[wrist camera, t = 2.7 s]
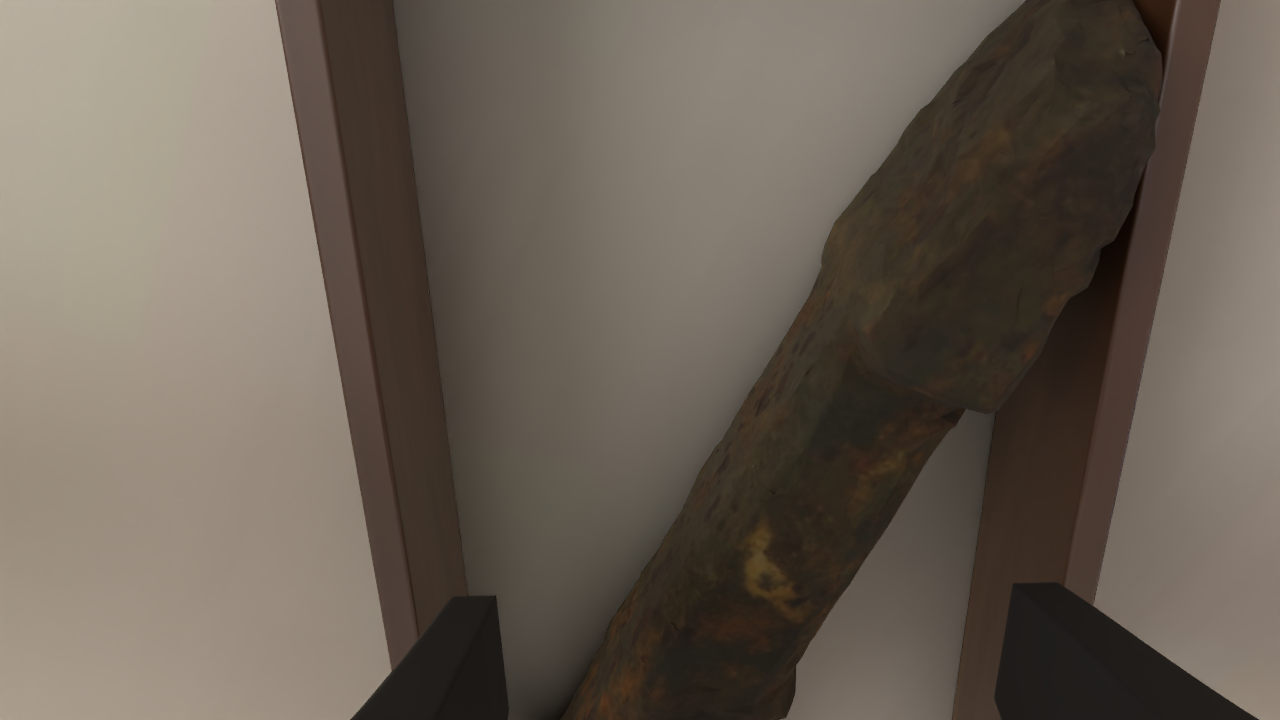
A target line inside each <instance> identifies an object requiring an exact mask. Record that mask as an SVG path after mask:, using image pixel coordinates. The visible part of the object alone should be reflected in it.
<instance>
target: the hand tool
mask: <svg viewBox="0 0 1280 720" xmlns="http://www.w3.org/2000/svg"><path fill="white" fill-rule="evenodd" d="M1161 87H1162V57H1161V52H1160V51H1159V50H1158V48H1157V47H1156V45H1155V43H1154V41H1153V39H1152V37H1151V35H1150V33H1149V31H1148V29H1147V27H1146V26H1145V25H1144V22H1143V20H1142V18H1141V15H1140V13H1139V11H1138V10H1137V9H1136V6H1135V4H1134V2H1133V0H1026V1H1025V3H1024V4H1022V5H1021V6H1020V7H1019V8H1018V9H1017V10H1016V11H1015V12H1014V13H1013V14H1012V15H1010V16H1009V17H1008V18H1007V19H1006V20H1005V21H1004V22H1003V23H1002V24H1001V25H1000V26H999V27H997V28H996V29H995V30H994V31H993V32H991V33H990V34H989V35H988V36H987V37H986V38H985V39H984V41H983V42H982V43H981V44H980V45H979V47H978V48H977V49H976V50H975V51H974V53H973V54H972V55H971V56H970V58H969V59H968V60H967V61H966V62H965V63H964V64H963V65H962V66H960V67H959V68H958V69H957V70H956V71H955V72H954V74H953V75H952V76H951V77H950V79H949V80H948V81H947V82H946V84H945V85H944V86H943V88H942V89H941V90H940V91H939V93H938V94H937V95H936V96H935V98H934V99H933V100H932V101H931V103H930V104H928V105H927V106H925V107H924V108H922V109H921V110H920V111H919V113H918V114H917V115H916V117H915V118H914V119H913V121H912V122H911V123H910V125H909V126H908V127H907V129H906V130H905V131H904V133H903V135H902V137H901V139H900V140H899V142H898V144H897V146H896V147H895V148H894V150H893V151H892V152H891V154H890V155H889V156H888V158H887V159H886V160H885V162H884V163H883V164H882V166H881V167H880V168H879V170H878V171H877V172H876V173H875V174H873V175H872V176H871V178H870V179H869V180H868V181H867V183H866V184H865V185H864V187H863V188H862V189H861V191H860V192H859V193H858V195H857V196H856V197H855V199H854V200H853V201H852V202H851V204H850V205H849V206H848V208H847V209H846V210H845V211H844V212H843V213H842V215H841V216H840V217H839V218H838V219H837V221H836V222H835V223H834V226H833V228H832V230H831V232H830V235H829V237H828V239H827V242H826V244H825V247H824V250H823V254H822V268H821V270H820V272H819V275H818V277H817V279H816V282H815V284H814V286H813V289H812V291H811V293H810V296H809V298H808V299H807V301H806V303H805V304H804V306H803V308H802V309H801V311H800V312H799V314H798V316H797V317H796V319H795V321H794V323H793V324H792V326H791V328H790V329H789V331H788V333H787V334H786V336H785V338H784V339H783V341H782V343H781V344H780V346H779V347H778V349H777V351H776V352H775V354H774V356H773V357H772V359H771V360H770V362H769V364H768V365H767V367H766V368H765V370H764V372H763V373H762V375H761V376H760V378H759V379H758V381H757V382H756V384H755V385H754V387H753V388H752V390H751V392H750V393H749V395H748V397H747V398H746V400H745V402H744V404H743V405H742V407H741V409H740V410H739V412H738V414H737V416H736V417H735V419H734V421H733V423H732V424H731V426H730V428H729V430H728V431H727V433H726V435H725V437H724V438H723V440H722V441H721V442H720V443H719V444H718V445H717V447H716V448H715V450H714V451H713V453H712V454H711V456H710V457H709V459H708V460H707V462H706V463H705V465H704V466H703V468H702V470H701V472H700V473H699V475H698V477H697V479H696V481H695V483H694V485H693V488H692V490H691V492H690V494H689V496H688V498H687V501H686V503H685V505H684V507H683V510H682V511H681V513H680V514H679V516H678V518H677V519H676V521H675V522H674V524H673V526H672V527H671V529H670V530H669V532H668V534H667V535H666V537H665V539H664V541H663V543H662V545H661V547H660V549H659V550H658V551H657V553H656V554H655V556H654V557H653V558H652V560H651V561H650V562H649V564H648V565H647V566H646V568H645V569H644V570H643V572H642V573H641V576H640V578H639V580H638V581H637V583H636V584H635V586H634V587H633V589H632V590H631V592H630V593H629V595H628V596H627V598H626V599H625V601H624V602H623V604H622V605H621V607H620V608H619V610H618V611H617V613H616V614H615V616H614V617H613V619H612V620H611V622H610V624H609V627H608V629H607V632H606V635H605V638H604V641H603V643H602V645H601V647H600V648H599V650H598V651H597V653H596V654H595V656H594V658H593V659H592V661H591V663H590V667H589V671H588V673H587V675H586V676H585V678H584V680H583V681H582V683H581V685H580V686H579V688H578V690H577V691H576V693H575V695H574V697H573V699H572V701H571V703H570V705H569V707H568V709H567V711H566V712H565V714H564V715H563V716H562V718H561V719H560V720H780V719H784V718H786V717H787V715H788V712H789V710H790V707H791V705H792V702H793V698H794V695H795V685H796V664H797V663H798V662H799V660H800V659H801V658H802V656H803V654H804V652H805V650H806V648H807V647H808V645H809V643H810V641H811V640H812V638H813V637H814V636H815V634H816V633H817V631H818V630H819V628H820V627H821V625H822V623H823V622H824V620H825V618H826V617H827V615H828V614H829V612H830V610H831V609H832V607H833V606H834V605H835V603H836V602H837V600H838V599H839V597H840V596H841V595H842V593H843V592H844V591H845V590H846V588H847V587H848V586H849V584H850V583H851V581H852V580H853V578H854V576H855V575H856V573H857V572H858V570H859V568H860V567H861V565H862V563H863V562H864V560H865V559H866V557H867V556H868V554H869V553H870V551H871V550H872V549H873V547H874V546H875V544H876V543H877V541H878V540H879V538H880V537H881V536H882V534H883V533H884V531H885V530H886V528H887V526H888V525H889V523H890V522H891V520H892V518H893V517H894V515H895V513H896V512H897V510H898V508H899V507H900V505H901V504H902V502H903V500H904V499H905V497H906V495H907V494H908V492H909V490H910V489H911V487H912V485H913V483H914V482H915V480H916V478H917V477H918V475H919V473H920V472H921V470H922V468H923V466H924V465H925V463H926V462H927V460H928V459H929V457H930V456H931V454H932V453H933V451H934V450H935V449H936V447H937V446H938V445H939V443H940V442H941V441H942V439H943V438H944V437H945V435H946V434H947V433H948V431H949V430H950V429H952V428H953V427H955V426H956V424H957V423H958V421H959V419H960V418H961V416H962V414H963V413H964V411H965V409H969V410H972V411H976V412H980V413H983V414H989V413H992V412H995V411H997V410H999V409H1000V408H1001V407H1002V405H1003V404H1004V403H1005V402H1006V400H1007V399H1008V398H1009V396H1010V395H1011V394H1012V392H1013V391H1014V390H1015V388H1016V387H1017V386H1018V384H1019V383H1020V381H1021V380H1022V378H1023V377H1024V375H1025V374H1026V373H1027V371H1028V370H1029V369H1030V367H1031V366H1032V365H1033V363H1034V362H1035V361H1036V360H1037V358H1038V357H1039V356H1040V354H1041V353H1042V351H1043V348H1044V346H1045V343H1046V341H1047V338H1048V336H1049V334H1050V331H1051V329H1052V326H1053V324H1054V323H1055V321H1056V319H1057V318H1058V316H1059V314H1060V313H1061V311H1062V309H1063V308H1064V306H1065V304H1066V302H1067V301H1068V300H1069V299H1070V298H1072V297H1073V296H1075V295H1076V294H1078V293H1080V292H1081V291H1083V290H1084V289H1086V288H1088V286H1089V284H1090V282H1091V280H1092V277H1093V275H1094V273H1095V270H1096V267H1097V265H1098V262H1099V258H1100V251H1101V248H1103V247H1104V246H1106V245H1108V244H1109V243H1111V242H1113V241H1114V240H1115V238H1116V236H1117V234H1118V232H1119V230H1120V229H1121V227H1122V225H1123V223H1124V221H1125V219H1126V217H1127V215H1128V213H1129V212H1130V210H1131V208H1132V206H1133V200H1134V195H1135V192H1136V189H1137V186H1138V183H1139V181H1140V178H1141V176H1142V173H1143V171H1144V168H1145V166H1146V163H1147V161H1148V160H1149V158H1150V157H1151V155H1152V154H1153V152H1154V151H1155V149H1156V141H1155V122H1156V120H1157V118H1158V116H1159V114H1160V111H1161V110H1160V107H1159V105H1158V102H1157V101H1158V98H1159V94H1160V90H1161Z"/></svg>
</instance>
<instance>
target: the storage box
mask: <svg viewBox="0 0 1280 720" xmlns="http://www.w3.org/2000/svg"><path fill="white" fill-rule="evenodd" d="M1133 2H1134V4H1135V6H1136V9H1137V10H1138V11H1139V13H1140V15H1141V18H1142V20H1143V22H1144V25H1145V26H1146V27H1147V29H1148V31H1149V33H1150V35H1151V37H1152V39H1153V41H1154V43H1155V45H1156V47H1157V48H1158V50H1159V51H1160V52H1161V57H1162V87H1161V90H1160V94H1159V98H1158V101H1157V102H1158V105H1159V107H1160V110H1161V111H1160V114H1159V116H1158V118H1157V120H1156V122H1155V141H1156V149H1155V151H1154V152H1153V154H1152V155H1151V157H1150V158H1149V160H1148V161H1147V163H1146V166H1145V168H1144V171H1143V173H1142V176H1141V178H1140V181H1139V183H1138V186H1137V189H1136V192H1135V195H1134V200H1133V206H1132V208H1131V210H1130V212H1129V213H1128V215H1127V217H1126V219H1125V221H1124V223H1123V225H1122V227H1121V229H1120V230H1119V232H1118V234H1117V236H1116V238H1115V240H1114V241H1113V242H1111V243H1109V244H1108V245H1106V246H1104V247H1103V248H1101V251H1100V258H1099V262H1098V265H1097V267H1096V270H1095V273H1094V275H1093V277H1092V280H1091V282H1090V284H1089V286H1088V288H1086V289H1084V290H1083V291H1081V292H1080V293H1078V294H1076V295H1075V296H1073V297H1072V298H1070V299H1069V300H1068V301H1067V302H1066V304H1065V306H1064V308H1063V309H1062V311H1061V313H1060V314H1059V316H1058V318H1057V319H1056V321H1055V323H1054V324H1053V326H1052V329H1051V331H1050V334H1049V336H1048V338H1047V341H1046V343H1045V346H1044V348H1043V351H1042V353H1041V354H1040V356H1039V357H1038V358H1037V360H1036V361H1035V362H1034V363H1033V365H1032V366H1031V367H1030V369H1029V370H1028V371H1027V373H1026V374H1025V375H1024V377H1023V378H1022V380H1021V381H1020V383H1019V384H1018V386H1017V387H1016V388H1015V390H1014V391H1013V392H1012V394H1011V395H1010V396H1009V398H1008V399H1007V400H1006V402H1005V403H1004V404H1003V405H1002V407H1001V408H1000V409H999V410H997V411H996V418H995V425H994V432H993V439H992V446H991V453H990V460H989V467H988V474H987V481H986V488H985V495H984V501H983V508H982V515H981V522H980V529H979V536H978V543H977V550H976V557H975V564H974V571H973V578H972V585H971V592H970V599H969V606H968V613H967V620H966V627H965V634H964V641H963V648H962V655H961V662H960V669H959V676H958V683H957V690H956V697H955V704H954V711H953V718H952V720H1001V717H1000V714H999V711H998V709H997V706H996V703H995V700H994V694H995V688H996V682H997V676H998V670H999V664H1000V658H1001V652H1002V646H1003V640H1004V634H1005V628H1006V622H1007V616H1008V609H1009V603H1010V597H1011V591H1012V585H1013V583H1043V582H1058V583H1059V584H1061V585H1062V586H1064V587H1065V588H1067V589H1069V590H1070V591H1072V592H1073V593H1075V594H1076V595H1078V596H1079V597H1081V598H1082V599H1083V600H1085V601H1086V602H1088V603H1089V604H1091V605H1092V606H1093V604H1094V599H1095V595H1096V590H1097V585H1098V581H1099V576H1100V571H1101V566H1102V562H1103V557H1104V552H1105V547H1106V543H1107V538H1108V533H1109V528H1110V524H1111V519H1112V514H1113V509H1114V505H1115V500H1116V495H1117V490H1118V486H1119V481H1120V476H1121V471H1122V467H1123V462H1124V457H1125V452H1126V448H1127V443H1128V438H1129V434H1130V429H1131V424H1132V419H1133V415H1134V410H1135V405H1136V400H1137V396H1138V391H1139V386H1140V381H1141V377H1142V372H1143V367H1144V362H1145V358H1146V353H1147V348H1148V343H1149V339H1150V334H1151V329H1152V324H1153V320H1154V315H1155V310H1156V305H1157V301H1158V296H1159V291H1160V286H1161V282H1162V277H1163V272H1164V268H1165V263H1166V258H1167V253H1168V249H1169V244H1170V239H1171V234H1172V230H1173V225H1174V220H1175V215H1176V211H1177V206H1178V201H1179V196H1180V192H1181V187H1182V182H1183V177H1184V173H1185V168H1186V163H1187V158H1188V154H1189V149H1190V144H1191V139H1192V135H1193V130H1194V125H1195V121H1196V116H1197V111H1198V106H1199V102H1200V97H1201V92H1202V87H1203V83H1204V78H1205V73H1206V68H1207V64H1208V59H1209V54H1210V49H1211V45H1212V40H1213V35H1214V30H1215V26H1216V21H1217V16H1218V11H1219V7H1220V2H1221V0H1133ZM275 3H276V9H277V15H278V20H279V26H280V32H281V38H282V43H283V49H284V55H285V61H286V66H287V72H288V78H289V83H290V89H291V95H292V101H293V106H294V112H295V118H296V124H297V129H298V135H299V141H300V147H301V152H302V158H303V164H304V169H305V175H306V181H307V187H308V192H309V198H310V204H311V210H312V215H313V221H314V227H315V233H316V238H317V244H318V250H319V256H320V261H321V267H322V273H323V278H324V284H325V290H326V296H327V301H328V307H329V313H330V319H331V324H332V330H333V336H334V342H335V347H336V353H337V359H338V364H339V370H340V376H341V382H342V387H343V393H344V399H345V405H346V410H347V416H348V422H349V428H350V433H351V439H352V445H353V451H354V456H355V462H356V468H357V473H358V479H359V485H360V491H361V496H362V502H363V508H364V514H365V519H366V525H367V531H368V537H369V542H370V548H371V554H372V559H373V565H374V571H375V577H376V582H377V588H378V594H379V600H380V605H381V611H382V617H383V623H384V628H385V634H386V640H387V645H388V651H389V657H390V663H391V668H392V671H393V670H394V669H395V667H396V666H397V665H398V664H399V663H400V661H401V660H402V659H403V658H404V656H405V655H406V654H407V653H408V651H409V650H410V649H411V648H412V646H413V645H414V644H415V643H416V641H417V640H418V639H419V637H420V636H421V635H422V634H423V632H424V631H425V630H426V628H427V627H428V626H429V625H430V623H431V622H432V621H433V619H434V618H435V617H436V615H437V614H438V613H439V611H440V610H441V609H442V608H443V606H444V605H445V604H446V603H447V602H448V601H449V600H450V599H451V598H452V597H453V596H467V588H466V580H465V572H464V564H463V556H462V548H461V540H460V532H459V525H458V517H457V509H456V501H455V493H454V485H453V477H452V469H451V461H450V454H449V446H448V438H447V430H446V422H445V414H444V406H443V398H442V390H441V382H440V375H439V367H438V359H437V351H436V343H435V335H434V327H433V319H432V311H431V304H430V296H429V288H428V280H427V272H426V264H425V256H424V248H423V240H422V232H421V225H420V217H419V209H418V201H417V193H416V185H415V177H414V169H413V161H412V154H411V146H410V138H409V130H408V122H407V114H406V106H405V98H404V90H403V82H402V75H401V67H400V59H399V51H398V43H397V35H396V27H395V19H394V11H393V4H392V0H275Z"/></svg>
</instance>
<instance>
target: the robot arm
mask: <svg viewBox="0 0 1280 720" xmlns="http://www.w3.org/2000/svg"><path fill="white" fill-rule="evenodd" d="M994 700H995V703H996V706H997V709H998V711H999V714H1000V717H1001V720H1259V719H1257V718H1255V717H1254V716H1252V715H1251V714H1249V713H1247V712H1246V711H1244V710H1243V709H1241V708H1240V707H1238V706H1236V705H1235V704H1233V703H1232V702H1230V701H1229V700H1227V699H1226V698H1224V697H1223V696H1221V695H1220V694H1218V693H1217V692H1215V691H1214V690H1212V689H1211V688H1209V687H1208V686H1206V685H1205V684H1203V683H1202V682H1200V681H1199V680H1197V679H1196V678H1195V677H1193V676H1192V675H1190V674H1189V673H1187V672H1186V671H1184V670H1183V669H1181V668H1180V667H1179V666H1177V665H1176V664H1174V663H1173V662H1171V661H1170V660H1168V659H1167V658H1166V657H1164V656H1163V655H1161V654H1160V653H1158V652H1157V651H1156V650H1154V649H1153V648H1151V647H1150V646H1149V645H1147V644H1146V643H1144V642H1143V641H1141V640H1140V639H1139V638H1137V637H1136V636H1134V635H1133V634H1132V633H1130V632H1129V631H1127V630H1126V629H1125V628H1123V627H1122V626H1120V625H1119V624H1118V623H1116V622H1115V621H1113V620H1112V619H1111V618H1109V617H1108V616H1106V615H1105V614H1103V613H1102V612H1101V611H1099V610H1098V609H1096V608H1095V607H1094V606H1092V605H1091V604H1089V603H1088V602H1086V601H1085V600H1083V599H1082V598H1081V597H1079V596H1078V595H1076V594H1075V593H1073V592H1072V591H1070V590H1069V589H1067V588H1065V587H1064V586H1062V585H1061V584H1059V583H1058V582H1043V583H1013V585H1012V591H1011V597H1010V603H1009V609H1008V616H1007V622H1006V628H1005V634H1004V640H1003V646H1002V652H1001V658H1000V664H999V670H998V676H997V682H996V688H995V694H994ZM508 711H509V707H508V698H507V689H506V680H505V671H504V662H503V653H502V644H501V635H500V626H499V617H498V608H497V599H496V595H495V596H453V597H452V598H451V599H450V600H449V601H448V602H447V603H446V604H445V605H444V606H443V608H442V609H441V610H440V611H439V613H438V614H437V615H436V617H435V618H434V619H433V621H432V622H431V623H430V625H429V626H428V627H427V628H426V630H425V631H424V632H423V634H422V635H421V636H420V637H419V639H418V640H417V641H416V643H415V644H414V645H413V646H412V648H411V649H410V650H409V651H408V653H407V654H406V655H405V656H404V658H403V659H402V660H401V661H400V663H399V664H398V665H397V666H396V667H395V669H394V670H393V671H392V672H391V673H390V675H389V676H388V677H387V678H386V679H385V680H384V682H383V683H382V684H381V685H380V686H379V688H378V689H377V690H376V691H375V692H374V693H373V695H372V696H371V697H370V698H369V699H368V700H367V702H366V703H365V704H364V705H363V706H362V707H361V709H360V710H359V711H358V712H357V713H356V714H355V715H354V716H353V717H352V718H351V719H350V720H508Z"/></svg>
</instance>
